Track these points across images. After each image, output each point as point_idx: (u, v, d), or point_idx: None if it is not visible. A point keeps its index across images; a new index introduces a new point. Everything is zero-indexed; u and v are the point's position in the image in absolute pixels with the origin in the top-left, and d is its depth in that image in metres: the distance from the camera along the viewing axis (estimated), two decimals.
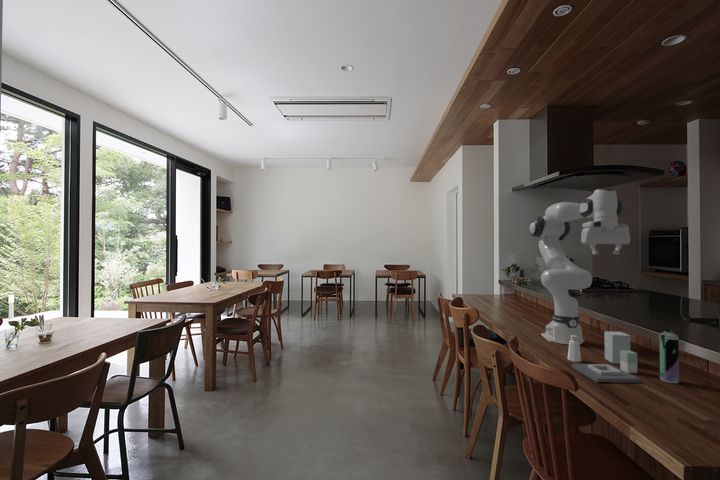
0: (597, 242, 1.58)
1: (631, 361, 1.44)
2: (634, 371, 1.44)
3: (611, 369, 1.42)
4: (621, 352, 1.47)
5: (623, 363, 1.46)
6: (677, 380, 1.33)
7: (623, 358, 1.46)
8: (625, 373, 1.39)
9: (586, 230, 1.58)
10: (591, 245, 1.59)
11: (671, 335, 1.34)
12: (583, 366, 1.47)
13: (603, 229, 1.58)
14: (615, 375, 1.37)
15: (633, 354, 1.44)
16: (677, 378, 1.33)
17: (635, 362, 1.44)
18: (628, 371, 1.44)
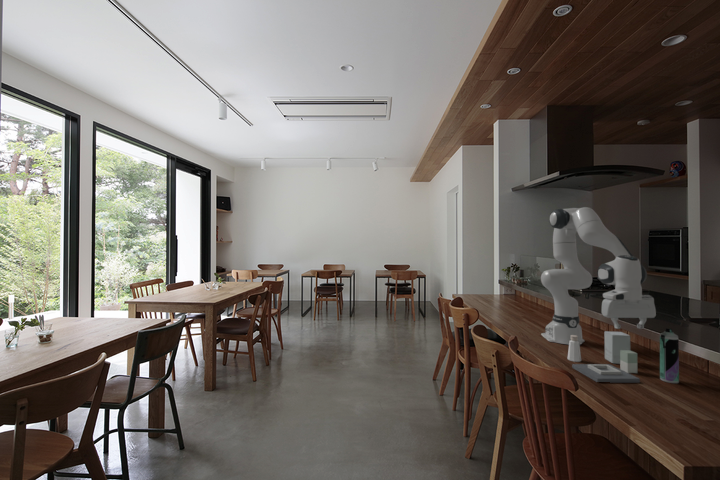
0: (620, 316, 1.44)
1: (631, 361, 1.44)
2: (634, 371, 1.44)
3: (611, 369, 1.42)
4: (621, 352, 1.47)
5: (623, 363, 1.46)
6: (677, 380, 1.33)
7: (623, 358, 1.46)
8: (625, 373, 1.39)
9: (607, 303, 1.45)
10: (613, 319, 1.46)
11: (671, 335, 1.34)
12: (583, 366, 1.47)
13: (626, 302, 1.44)
14: (615, 375, 1.37)
15: (633, 354, 1.44)
16: (677, 378, 1.33)
17: (635, 362, 1.44)
18: (628, 371, 1.44)
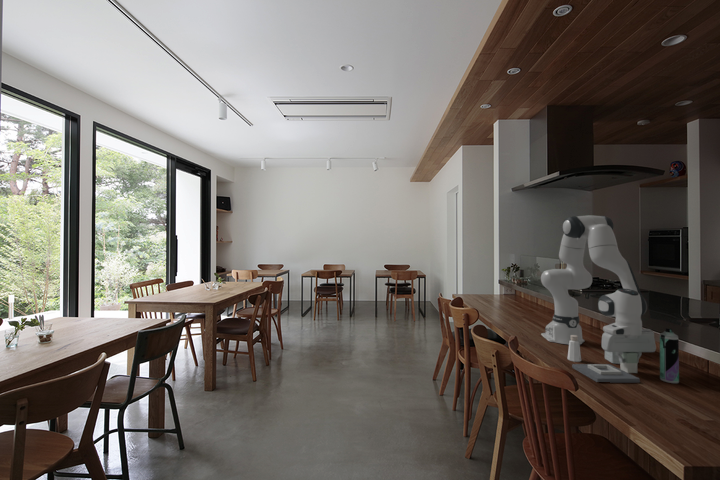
0: (619, 350, 1.44)
1: (631, 361, 1.44)
2: (634, 371, 1.44)
3: (611, 369, 1.42)
4: None
5: (623, 363, 1.46)
6: (677, 380, 1.33)
7: None
8: (625, 373, 1.39)
9: (607, 337, 1.45)
10: (618, 353, 1.46)
11: (671, 335, 1.34)
12: (583, 366, 1.47)
13: (626, 336, 1.44)
14: (615, 375, 1.37)
15: (633, 354, 1.44)
16: (677, 378, 1.33)
17: (635, 362, 1.44)
18: (628, 371, 1.44)
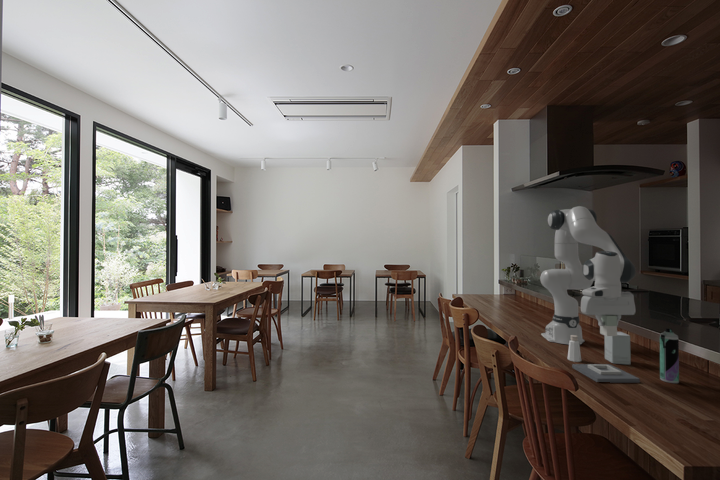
0: (599, 313, 1.41)
1: (610, 324, 1.40)
2: (614, 334, 1.40)
3: (611, 369, 1.42)
4: None
5: (603, 327, 1.42)
6: (677, 380, 1.33)
7: None
8: (625, 373, 1.39)
9: (586, 300, 1.41)
10: (597, 316, 1.42)
11: (671, 335, 1.34)
12: (583, 366, 1.47)
13: (605, 298, 1.40)
14: (615, 375, 1.37)
15: (612, 317, 1.40)
16: (677, 378, 1.33)
17: (615, 325, 1.40)
18: (607, 334, 1.40)
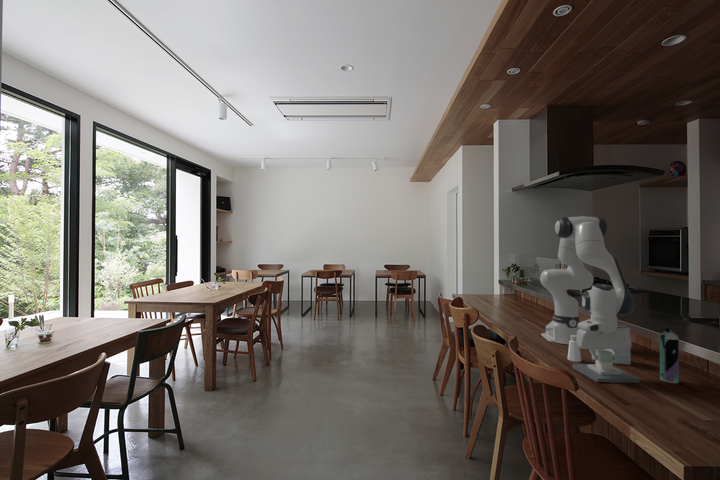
0: (594, 347, 1.40)
1: (606, 360, 1.40)
2: None
3: None
4: (596, 351, 1.43)
5: (598, 363, 1.42)
6: (677, 380, 1.33)
7: (598, 358, 1.42)
8: (625, 373, 1.39)
9: (582, 334, 1.41)
10: (590, 350, 1.42)
11: (671, 335, 1.34)
12: (583, 366, 1.47)
13: (601, 333, 1.40)
14: (615, 375, 1.37)
15: (608, 353, 1.40)
16: (677, 378, 1.33)
17: (610, 361, 1.40)
18: None
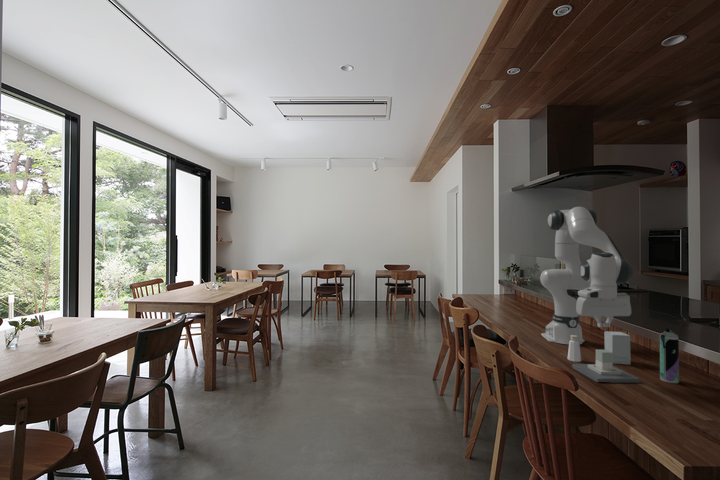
0: (594, 314, 1.40)
1: (606, 360, 1.40)
2: None
3: None
4: (596, 351, 1.43)
5: (598, 363, 1.42)
6: (677, 380, 1.33)
7: (598, 358, 1.42)
8: (625, 373, 1.39)
9: (582, 301, 1.41)
10: (596, 317, 1.42)
11: (671, 335, 1.34)
12: (583, 366, 1.47)
13: (601, 300, 1.40)
14: (615, 375, 1.37)
15: (608, 353, 1.40)
16: (677, 378, 1.33)
17: (610, 361, 1.40)
18: None
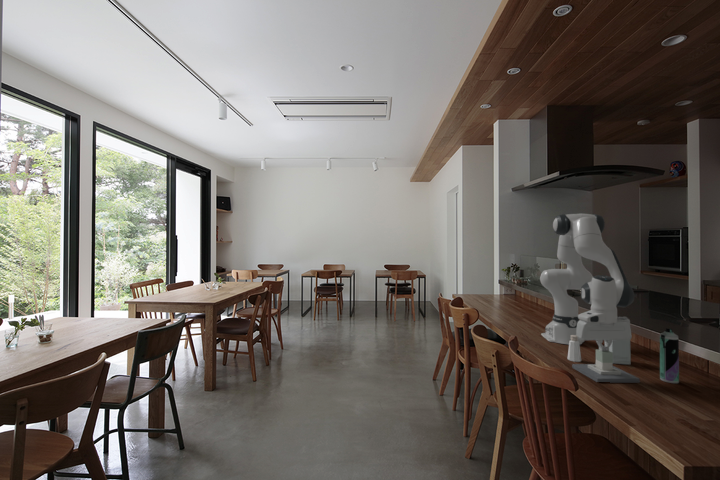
0: (594, 338, 1.40)
1: (606, 360, 1.40)
2: None
3: None
4: (596, 351, 1.43)
5: (598, 363, 1.42)
6: (677, 380, 1.33)
7: (598, 358, 1.42)
8: (625, 373, 1.39)
9: (582, 325, 1.41)
10: (598, 341, 1.42)
11: (671, 335, 1.34)
12: (583, 366, 1.47)
13: (601, 324, 1.40)
14: (615, 375, 1.37)
15: (608, 353, 1.40)
16: (677, 378, 1.33)
17: (610, 361, 1.40)
18: None
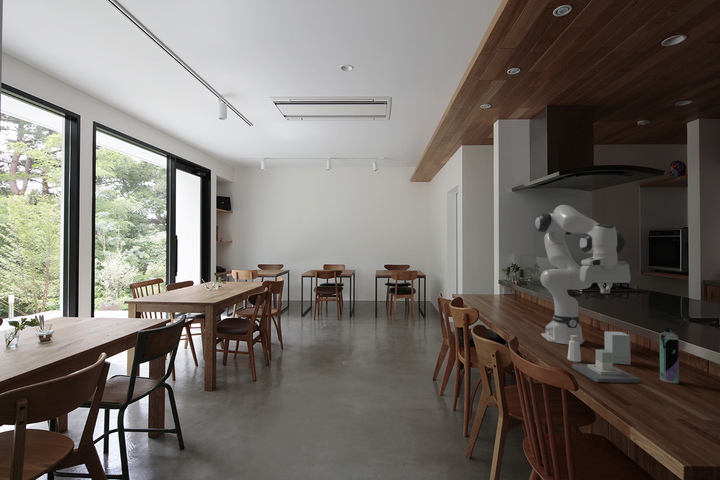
0: (596, 281, 1.52)
1: (606, 360, 1.40)
2: None
3: None
4: (596, 351, 1.43)
5: (598, 363, 1.42)
6: (677, 380, 1.33)
7: (598, 358, 1.42)
8: (625, 373, 1.39)
9: (585, 269, 1.53)
10: (599, 284, 1.54)
11: (671, 335, 1.34)
12: (583, 366, 1.47)
13: (602, 267, 1.52)
14: (615, 375, 1.37)
15: (608, 353, 1.40)
16: (677, 378, 1.33)
17: (610, 361, 1.40)
18: None
